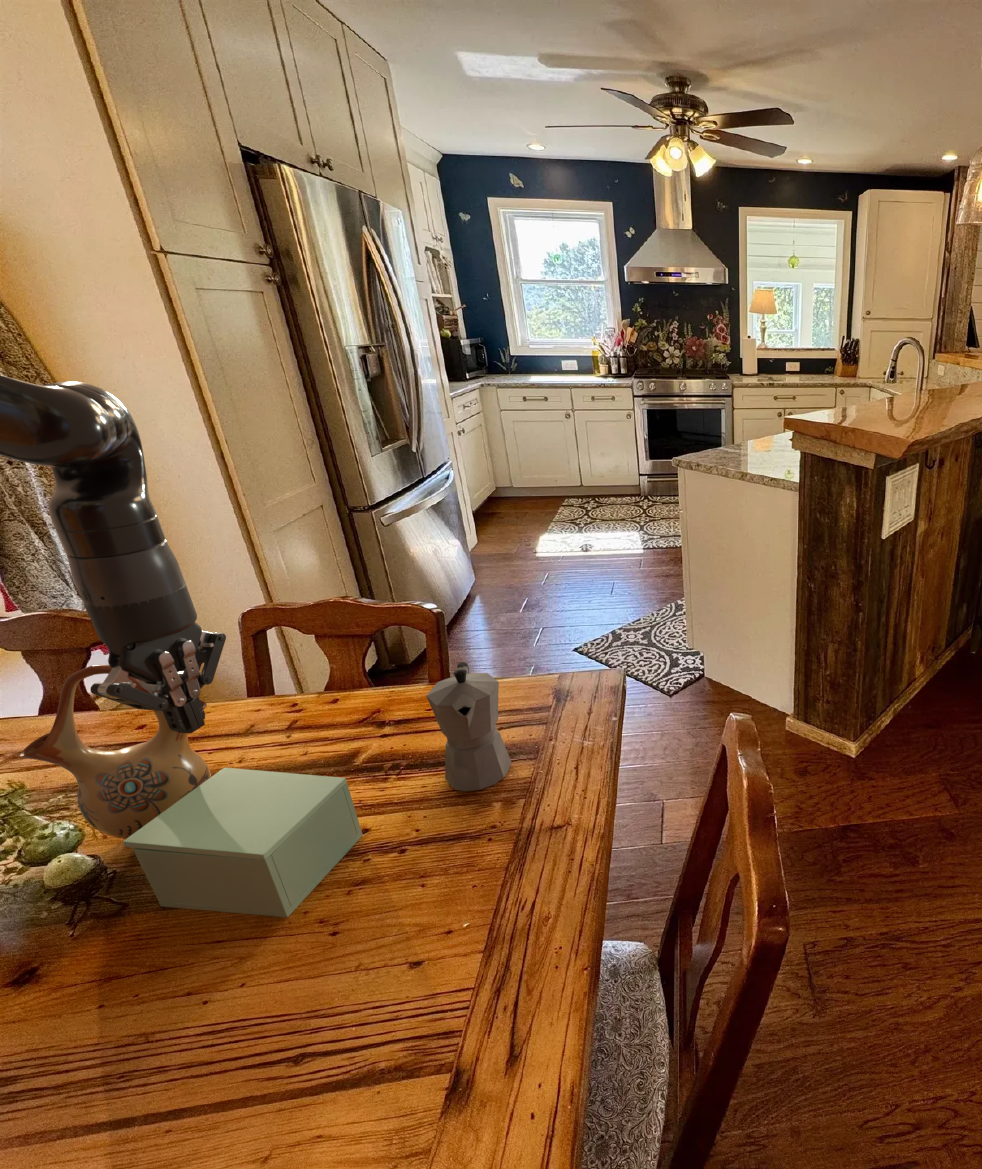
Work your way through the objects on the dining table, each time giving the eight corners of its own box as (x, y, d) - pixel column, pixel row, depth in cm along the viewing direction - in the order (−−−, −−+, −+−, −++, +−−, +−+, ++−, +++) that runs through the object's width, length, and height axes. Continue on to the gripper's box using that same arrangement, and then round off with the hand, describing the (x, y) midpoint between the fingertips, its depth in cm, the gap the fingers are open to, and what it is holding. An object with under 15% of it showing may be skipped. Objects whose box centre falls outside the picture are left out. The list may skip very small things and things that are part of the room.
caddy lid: (124, 847, 69) (121, 841, 69) (226, 772, 80) (224, 767, 80) (265, 860, 68) (263, 854, 68) (347, 782, 80) (345, 777, 79)
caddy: (160, 906, 72) (132, 849, 69) (252, 826, 84) (232, 774, 80) (287, 917, 71) (265, 860, 68) (363, 835, 83) (347, 783, 80)
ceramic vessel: (242, 783, 91) (184, 632, 82) (245, 818, 85) (183, 659, 76) (82, 836, 81) (-6, 672, 72) (72, 880, 75) (-25, 707, 66)
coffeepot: (516, 790, 92) (498, 686, 85) (444, 809, 88) (420, 701, 81) (507, 732, 104) (492, 638, 97) (445, 746, 100) (424, 649, 94)
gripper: (99, 618, 57) (164, 770, 64) (227, 567, 69) (271, 699, 76) (23, 613, 57) (96, 764, 64) (163, 563, 69) (213, 694, 76)
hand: (191, 728), depth 70 cm, fingers closed
